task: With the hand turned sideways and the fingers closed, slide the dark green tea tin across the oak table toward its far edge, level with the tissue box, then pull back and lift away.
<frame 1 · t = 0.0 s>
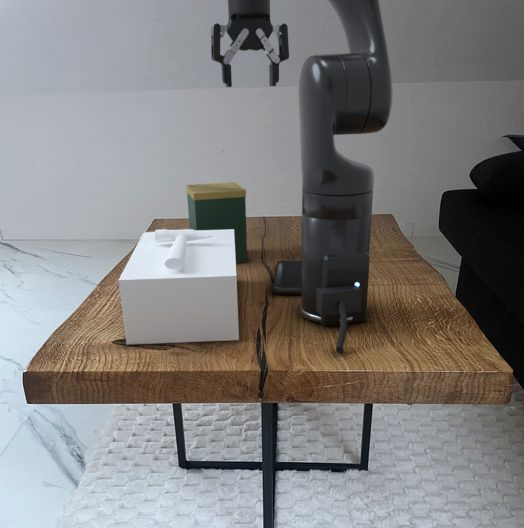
hand: (251, 86, 113), 29 cm above the table, tool pointing down, fingers open, 8 cm apart
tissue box: (188, 309, 89), on the table
tea tin: (218, 257, 113), on the table
phone: (298, 280, 100), on the table
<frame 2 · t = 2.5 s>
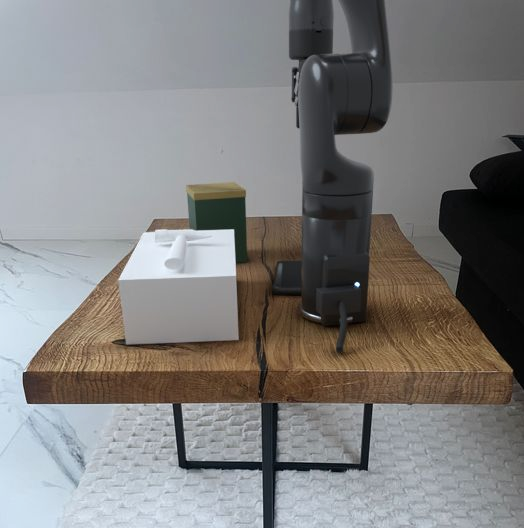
hand: (309, 130, 108), 22 cm above the table, tool pointing down, fingers open, 8 cm apart
nothing on the table moved.
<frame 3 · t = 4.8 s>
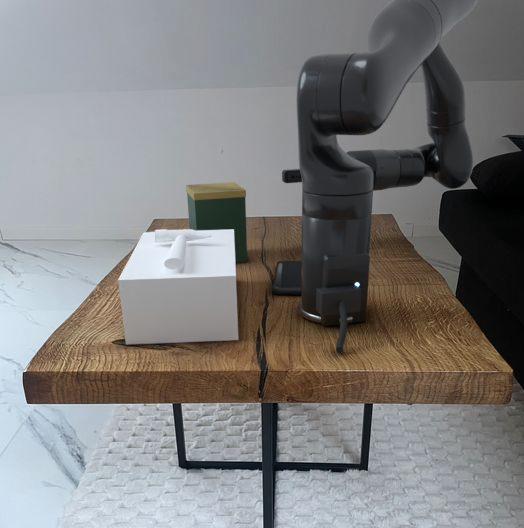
hand: (283, 176, 111), 14 cm above the table, tool horizontal, fingers closed
nothing on the table moved.
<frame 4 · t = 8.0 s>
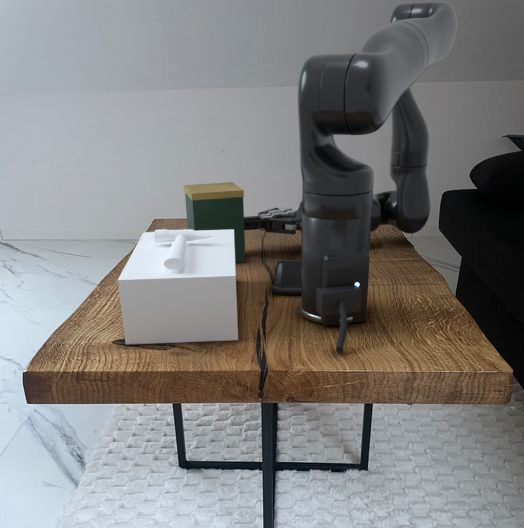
hand: (238, 224, 112), 6 cm above the table, tool horizontal, fingers closed
nothing on the table moved.
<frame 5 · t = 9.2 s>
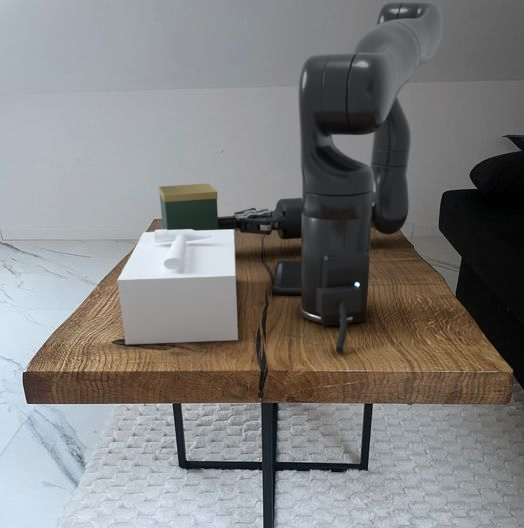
hand: (213, 224, 111), 6 cm above the table, tool horizontal, fingers closed
tea tin: (192, 260, 112), on the table, touching gripper
everything else where it was.
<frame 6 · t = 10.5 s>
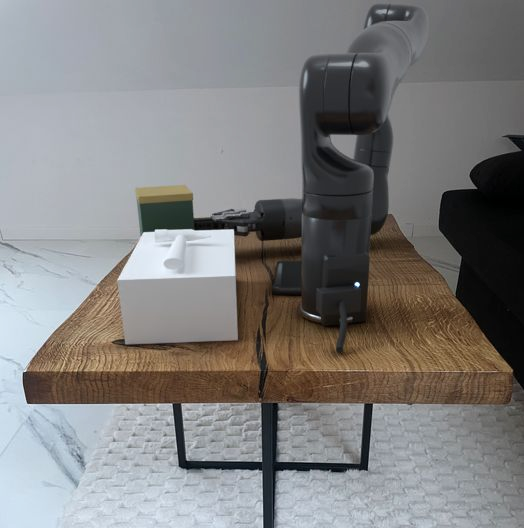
hand: (191, 225, 110), 7 cm above the table, tool horizontal, fingers closed
tea tin: (169, 261, 112), on the table, touching gripper
everything else where it was.
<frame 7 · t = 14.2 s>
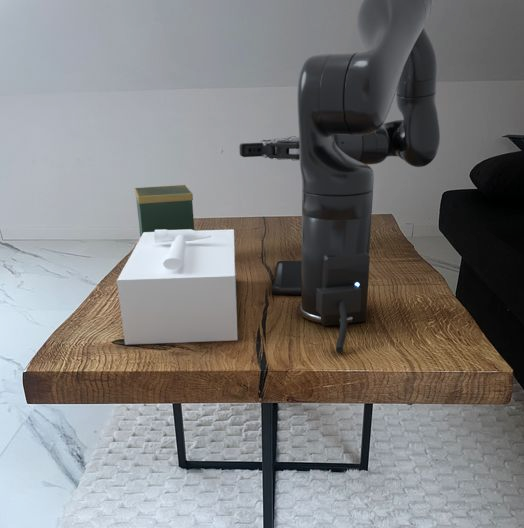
hand: (240, 150, 107), 19 cm above the table, tool horizontal, fingers closed
tea tin: (168, 262, 112), on the table
everything else where it was.
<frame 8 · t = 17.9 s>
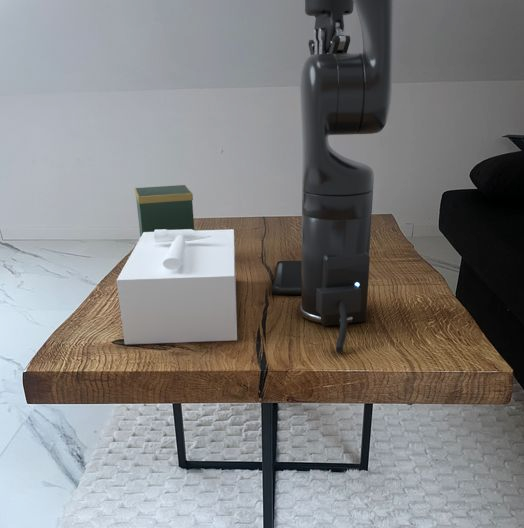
hand: (327, 101, 99), 27 cm above the table, tool pointing down, fingers closed
nothing on the table moved.
at the end: tea tin inside the target area on the table beside the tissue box (0.4 cm from its centre), on the table; tea tin moved 9.3 cm from its start; tea tin tilted 0° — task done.
